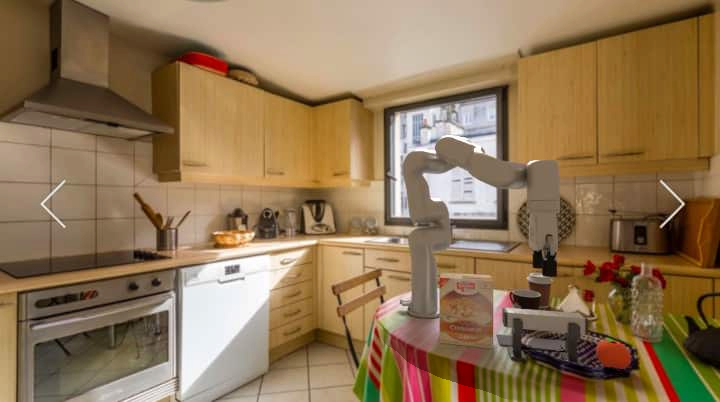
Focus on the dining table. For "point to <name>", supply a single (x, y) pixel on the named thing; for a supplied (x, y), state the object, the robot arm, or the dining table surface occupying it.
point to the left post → (516, 342)
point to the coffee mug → (525, 299)
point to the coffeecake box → (466, 309)
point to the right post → (571, 344)
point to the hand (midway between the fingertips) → (544, 272)
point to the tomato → (613, 354)
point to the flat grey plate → (534, 343)
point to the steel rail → (544, 320)
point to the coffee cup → (540, 287)
